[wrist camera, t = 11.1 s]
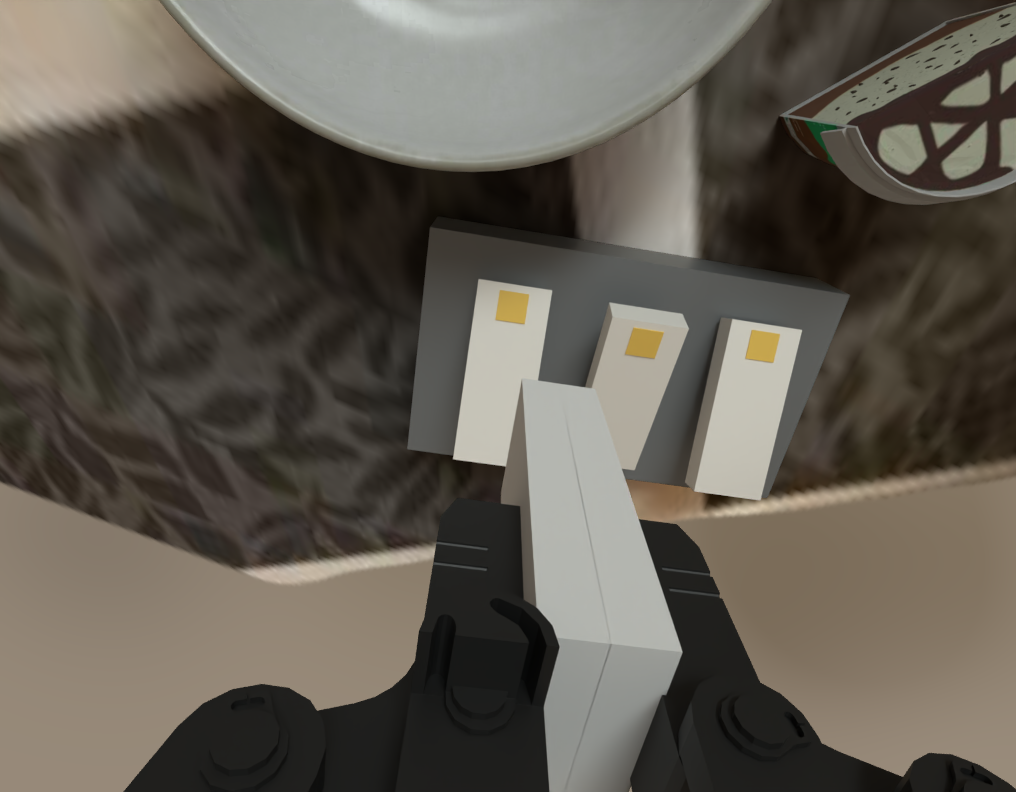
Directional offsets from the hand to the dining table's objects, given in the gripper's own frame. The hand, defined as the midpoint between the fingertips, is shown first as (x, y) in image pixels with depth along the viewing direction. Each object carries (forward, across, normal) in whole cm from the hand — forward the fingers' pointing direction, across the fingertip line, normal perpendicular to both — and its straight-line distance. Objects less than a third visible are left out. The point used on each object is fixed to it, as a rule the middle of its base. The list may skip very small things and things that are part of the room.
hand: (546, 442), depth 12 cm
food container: (+27, +19, +9) cm, 34 cm away
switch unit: (+26, +7, -7) cm, 28 cm away
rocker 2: (+20, +7, -7) cm, 22 cm away
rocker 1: (+20, 0, -7) cm, 21 cm away
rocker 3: (+20, +14, -7) cm, 25 cm away
